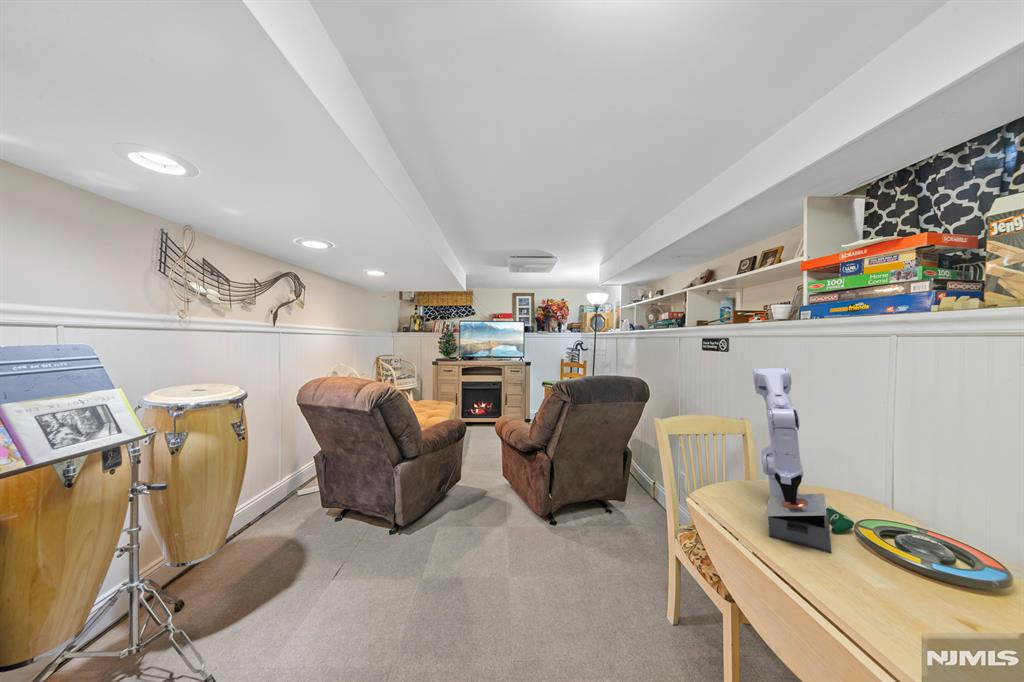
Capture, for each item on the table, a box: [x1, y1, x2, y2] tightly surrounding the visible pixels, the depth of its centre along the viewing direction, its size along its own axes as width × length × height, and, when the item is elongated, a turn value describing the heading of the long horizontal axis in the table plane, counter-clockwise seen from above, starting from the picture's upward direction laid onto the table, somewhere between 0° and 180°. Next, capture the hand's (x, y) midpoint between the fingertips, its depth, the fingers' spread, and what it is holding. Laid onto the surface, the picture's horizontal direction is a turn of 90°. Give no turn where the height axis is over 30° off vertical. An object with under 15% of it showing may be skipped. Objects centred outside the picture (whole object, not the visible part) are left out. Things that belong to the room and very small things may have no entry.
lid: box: [764, 492, 827, 517], centre depth 90 cm, size 13×13×1 cm
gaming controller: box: [826, 505, 855, 535], centre depth 92 cm, size 9×4×6 cm
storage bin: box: [767, 511, 832, 554], centre depth 89 cm, size 16×12×6 cm
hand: (790, 501), depth 90 cm, fingers closed
